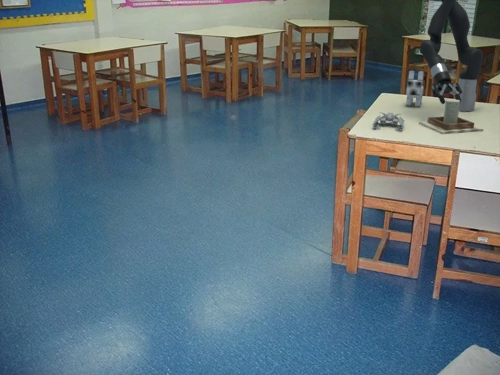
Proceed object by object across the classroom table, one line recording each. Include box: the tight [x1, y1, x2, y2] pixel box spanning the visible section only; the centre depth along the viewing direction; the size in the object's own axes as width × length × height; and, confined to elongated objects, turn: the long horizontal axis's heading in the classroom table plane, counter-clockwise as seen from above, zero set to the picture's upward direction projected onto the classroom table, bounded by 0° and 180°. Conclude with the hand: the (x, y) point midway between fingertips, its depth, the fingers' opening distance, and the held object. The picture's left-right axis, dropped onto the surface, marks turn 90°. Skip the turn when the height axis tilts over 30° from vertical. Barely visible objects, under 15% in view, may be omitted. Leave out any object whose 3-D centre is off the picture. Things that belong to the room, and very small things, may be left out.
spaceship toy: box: [372, 111, 405, 132], centre depth 254 cm, size 14×20×6 cm
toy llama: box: [405, 70, 425, 108], centre depth 297 cm, size 8×18×20 cm, turn 157°
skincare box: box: [443, 98, 460, 124], centre depth 252 cm, size 6×4×12 cm
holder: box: [418, 116, 484, 135], centre depth 254 cm, size 22×20×4 cm
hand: (451, 102), depth 252 cm, fingers open, 8 cm apart
